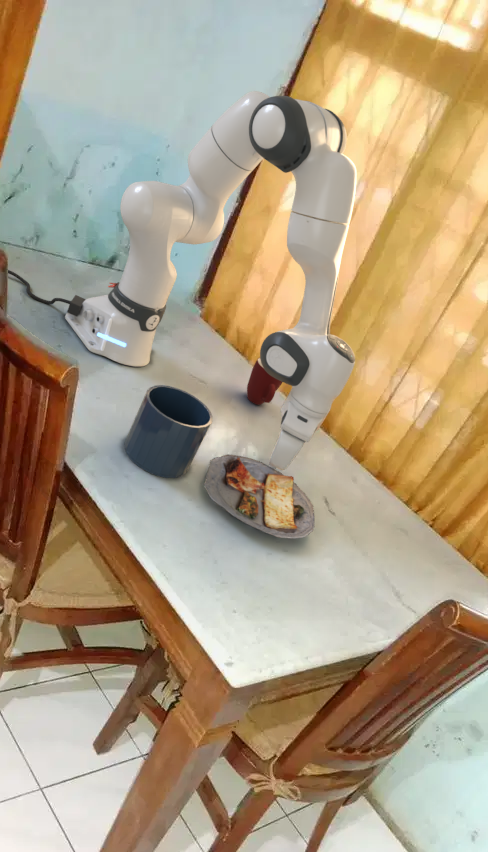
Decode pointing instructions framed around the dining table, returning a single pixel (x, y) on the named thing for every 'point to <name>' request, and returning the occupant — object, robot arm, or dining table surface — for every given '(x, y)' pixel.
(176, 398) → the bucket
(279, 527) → the food plate
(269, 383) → the mug
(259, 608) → the dining table surface
